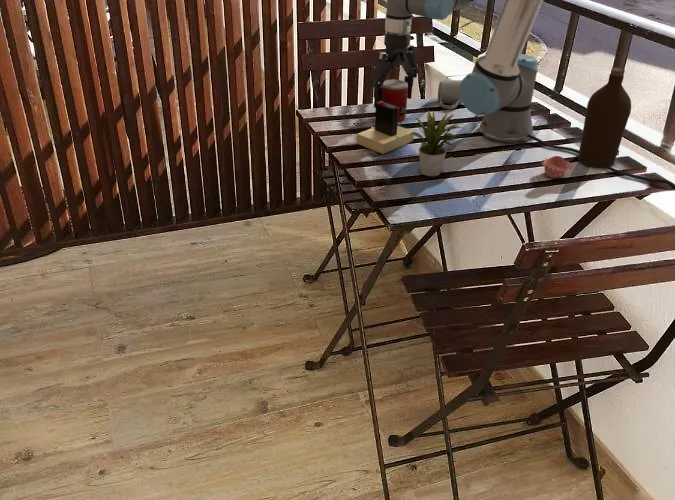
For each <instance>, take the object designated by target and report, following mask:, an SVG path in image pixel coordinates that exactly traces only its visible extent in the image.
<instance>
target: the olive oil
mask: <svg viewBox="0 0 675 500" xmlns="http://www.w3.org/2000/svg"><path fill="white" fill-rule="evenodd" d="M625 71H626V70H625V69H624V68H622V67H611V70H610V73H609V75H608V81H607V83H606V84H605V85H603V86H602V87H599V89H598V90H596V91H595V92H594V93H592V95H590V98H589V100H588V102H587V105H586V110H585V116H584V123H583V128H582V133H581V140H580V145H579V149H578V150H579V154H578V153H577V154H578V155H577V160H578V161H579V162H580V163H581V164H583V165H585V166H587V167H591V168H597V169H605V168H604V165H608V166H610V167H613V166H614V165H615V162H616V159H617V155H618V152H619V149H620V145H621V142H622V139H623V137H624V133H625V130H626V127H627V124H628V121H629V118H630V116H631V111H632V100H631V97H630V96H629V94H628V92H627V91H626V89H625V87H624V86H623V85H622V84H623V81H624V78H625V75H624V74H625Z"/></svg>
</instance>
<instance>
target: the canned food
mask: <svg viewBox="0 0 675 500" xmlns="http://www.w3.org/2000/svg"><path fill="white" fill-rule="evenodd" d="M382 88H383V102H384V103H387V104H390V105H393V106H396V107H398V123H401V122H403V121H405V119H406V116H407V106H408V105H407V104H408V98H407V94H408V83H407V82H405V81H404V80H401V79H385V81H384V83H383V85H382Z"/></svg>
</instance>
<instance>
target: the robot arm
mask: <svg viewBox="0 0 675 500" xmlns="http://www.w3.org/2000/svg"><path fill="white" fill-rule="evenodd" d="M474 2H475V0H386V12H385V20H384V31H385V33H384V37H383V38H384V40H383V44H384V46H385V48H386V49H385V52H382V51H378V53H377V59H376V62H375V65H374V68H373V70H372V73H371V76H370V79H369V82H368V86H369V87H373V108H374V109H376V103H377V102H379V101H383V88H382V85H383V83H384V81H386V80H387V77H388V76H389V74H390V72H391V70H392V69H394V68H395V67H396V66H398V65H400V66H401V67H402V69H403V71H404V73H405V74H406V75H405V76H404V80H403V81H405V82H407V83H408V94H407V100H412V94H413V86H414V79H417V77H418V74H419V73H420V69H419V66H418V65H419V64H418V62H417V58H416V53H415V46H414V45H413V44H411V33H410V32H411V31H412V19H413V15H415V16H419V17H423V18H428V19H431V20H439V21H443V20H446V19H447V18H448V16H450V15H451V14H452V12H454V11H457V10H463V9H465V8H467V7H469V6H472V4H473V3H474ZM543 3H544V0H505V1H504V4H503V6H502V9H501V11H500V14H499V15H498V18H497V22H496V24H495V26H494V29H493V32H492V35H491V36H490V39H489V42H488V45H487V48H486V50H485V52H483V53H481V54H479V55H478V56H477V58H476V60H475V63H474V66H473V68H472V71H471V72H470V73H468V74H466V75H465V77H463V78H462V79H461V80H462V82H461V84H460V89H459V92H460V98H461V99H462V101H463V104H462V105H463V106H464V107H465V108H466V109H467V111H469V112H470V113H472V114H474V115H476V116H483V117H482V119H481V121H480V125H479V130H478V131H479V133H480V135H481V136H483V137H484V138H486V139H488V140H491V141H494V142H499V143H505V144H506V143H509V144H517V143H522V142H527V141H529V140H530V139H531V140H533V141H535V142H538V143H540V144H541V145H543V146H545V147H548V148H551V149H556V150H560V151H561V150H563V151H569V152H572V153H575V154H579V149H577V148H573V147H568V146H567V147H566V146H562V145H554V144H551V143H549V142H546V141H544V140H543V139H540V138H538V137H537V136H535V135H533V132H534V125H533V121H532V114H531V106H532V101H533V97H534V90H535V84H536V78H537V74H538V66H539V61H538V59H537V58H536V57H534V56H533V55H529V54H526V53H523V50H524V48H525V45H526V43H527V41H528V39H529V35H530V34H531V31H532V29H533V26H534V24H535V22H536V19H537V17H538V14H539V12H540V10H541V7H542V5H543ZM603 169H607V170H609V171H611V172H613V173H616V174H619V175H621V176H625V177H629V178H632V179H637V180H640V181H645V182H651V183H662V184H666V185H668V186H670V187H671V188H672V189H673V190H674V191H675V184H674V182H672V181H670V180H668V179H665V178H664V179H663V178H650V177H646V176H641V175H638V174H634V173H629V172H626V171H622V170H619V169H617V168H615V167H613V166H611V167H610V166H608V165H604V168H603Z"/></svg>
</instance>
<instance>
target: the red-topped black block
mask: <svg viewBox="0 0 675 500" xmlns="http://www.w3.org/2000/svg"><path fill="white" fill-rule="evenodd" d="M398 123H399V122H398V107H396V106H393V105H390V104H387V103H384V102H383V101H379V102H377V103H376V108H375V114H374V127H375V130H376V131H378V132H381V133H384V134H386V135H389V136H391V137H392V136H394V135H397V126H398Z"/></svg>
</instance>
